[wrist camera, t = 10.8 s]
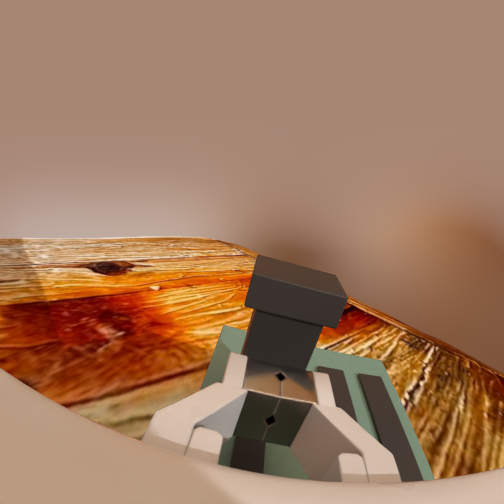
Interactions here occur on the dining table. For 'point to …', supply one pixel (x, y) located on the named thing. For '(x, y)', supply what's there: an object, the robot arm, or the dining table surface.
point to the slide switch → (290, 311)
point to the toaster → (346, 397)
